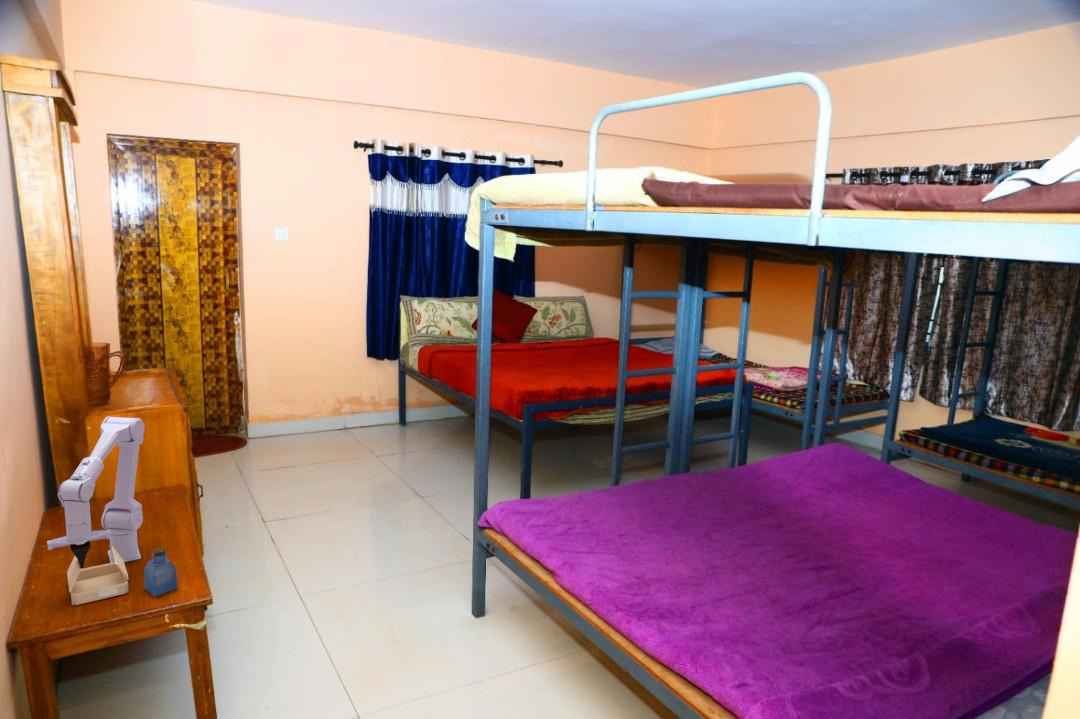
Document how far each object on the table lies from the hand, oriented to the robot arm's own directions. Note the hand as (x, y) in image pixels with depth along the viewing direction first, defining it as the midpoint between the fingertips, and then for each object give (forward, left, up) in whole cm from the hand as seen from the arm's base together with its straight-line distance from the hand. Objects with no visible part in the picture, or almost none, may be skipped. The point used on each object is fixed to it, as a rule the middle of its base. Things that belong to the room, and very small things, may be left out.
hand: (81, 566), depth 193 cm
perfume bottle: (+9, +18, -8) cm, 22 cm away
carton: (0, +4, -7) cm, 8 cm away
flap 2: (0, +11, -4) cm, 11 cm away
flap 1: (0, -3, -4) cm, 5 cm away
